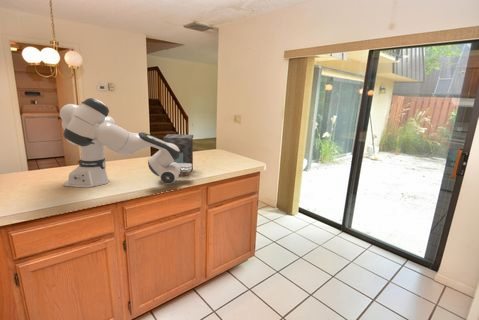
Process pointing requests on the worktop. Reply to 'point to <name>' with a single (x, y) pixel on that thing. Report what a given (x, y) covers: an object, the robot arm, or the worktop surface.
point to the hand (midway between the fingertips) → (177, 163)
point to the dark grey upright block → (182, 147)
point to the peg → (180, 158)
